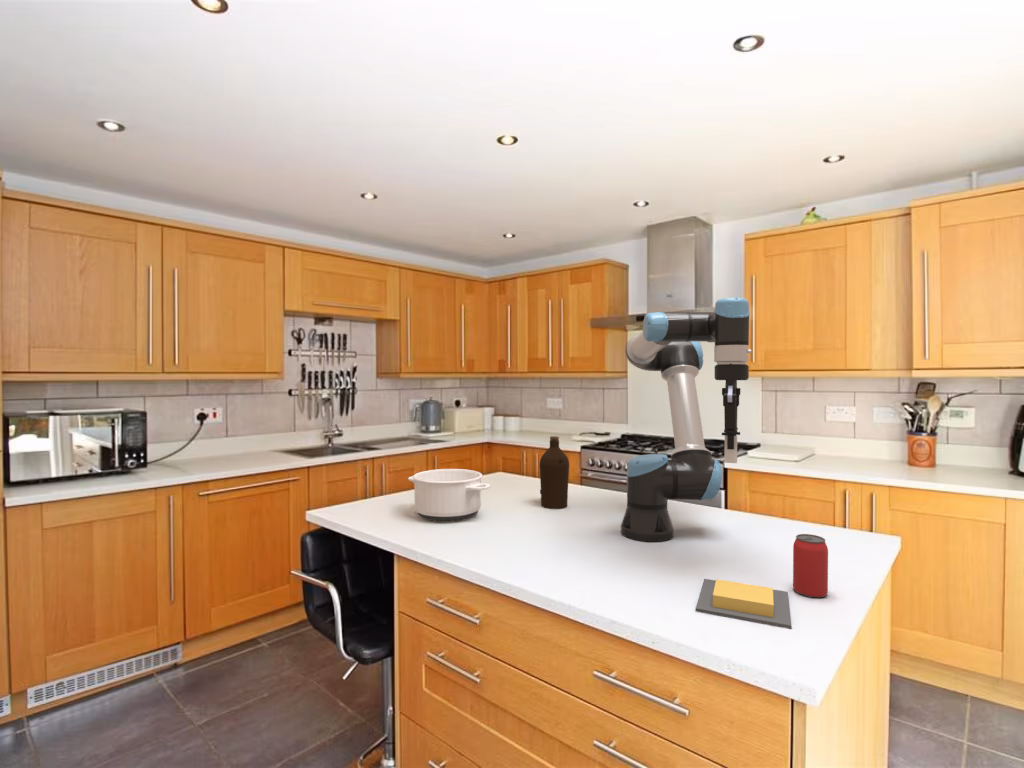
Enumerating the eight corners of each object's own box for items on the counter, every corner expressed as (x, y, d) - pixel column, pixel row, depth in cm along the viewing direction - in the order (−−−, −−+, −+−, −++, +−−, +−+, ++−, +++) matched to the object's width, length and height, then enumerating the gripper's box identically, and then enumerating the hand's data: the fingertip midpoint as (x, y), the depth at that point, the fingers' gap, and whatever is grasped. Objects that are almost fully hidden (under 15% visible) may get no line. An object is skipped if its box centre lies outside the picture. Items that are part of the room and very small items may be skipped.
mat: (695, 611, 106) (695, 608, 106) (704, 581, 121) (704, 578, 121) (791, 628, 99) (791, 625, 99) (787, 594, 114) (787, 591, 114)
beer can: (786, 587, 118) (787, 533, 118) (814, 585, 119) (815, 532, 118) (805, 599, 111) (805, 542, 111) (834, 598, 112) (835, 542, 112)
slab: (716, 590, 115) (712, 606, 107) (716, 579, 115) (712, 594, 107) (772, 599, 110) (773, 617, 102) (772, 588, 110) (773, 605, 102)
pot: (507, 514, 180) (507, 474, 179) (466, 531, 160) (466, 486, 160) (433, 501, 197) (433, 465, 197) (387, 515, 178) (387, 475, 177)
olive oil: (574, 505, 192) (574, 436, 191) (558, 511, 183) (558, 439, 183) (550, 500, 198) (550, 434, 198) (533, 506, 190) (533, 437, 190)
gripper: (748, 363, 118) (747, 468, 119) (749, 364, 130) (748, 459, 131) (712, 363, 122) (711, 465, 122) (716, 364, 133) (716, 457, 134)
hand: (730, 462), depth 126 cm, fingers closed
